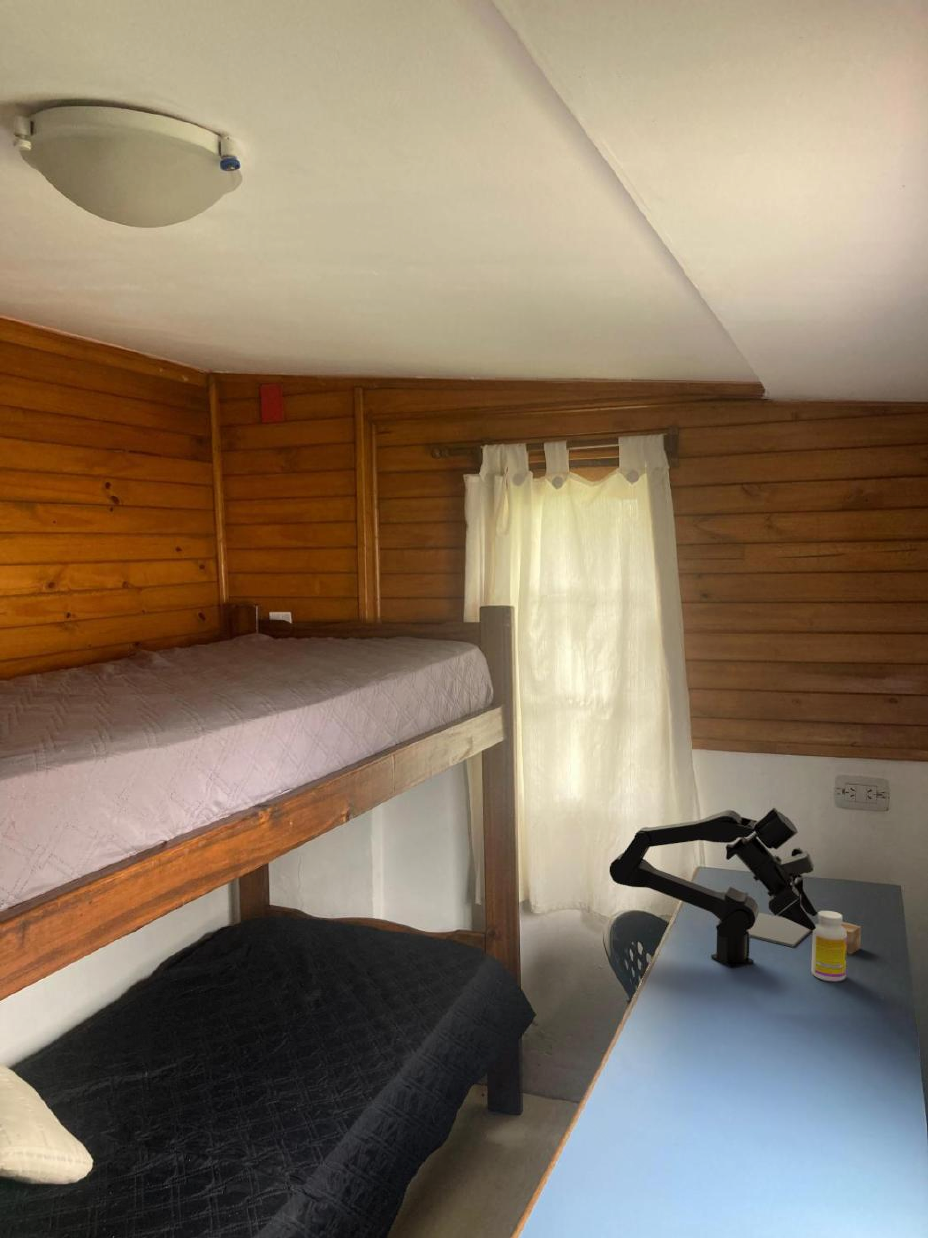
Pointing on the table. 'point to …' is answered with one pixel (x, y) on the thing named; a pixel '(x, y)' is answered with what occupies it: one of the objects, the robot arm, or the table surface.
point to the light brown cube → (852, 937)
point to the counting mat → (777, 930)
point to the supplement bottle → (829, 947)
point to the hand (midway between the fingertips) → (815, 922)
